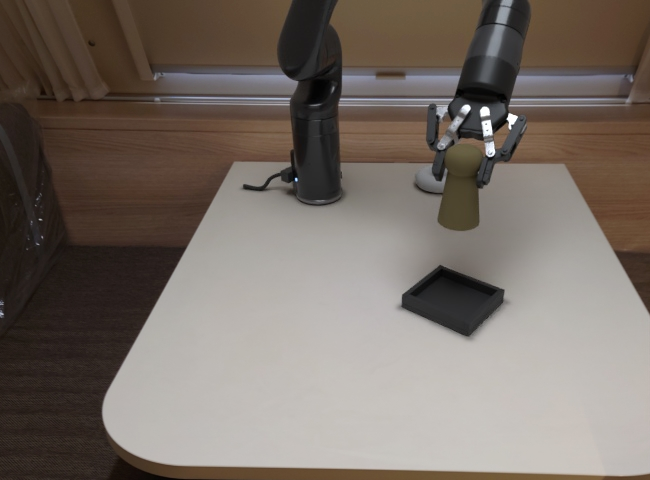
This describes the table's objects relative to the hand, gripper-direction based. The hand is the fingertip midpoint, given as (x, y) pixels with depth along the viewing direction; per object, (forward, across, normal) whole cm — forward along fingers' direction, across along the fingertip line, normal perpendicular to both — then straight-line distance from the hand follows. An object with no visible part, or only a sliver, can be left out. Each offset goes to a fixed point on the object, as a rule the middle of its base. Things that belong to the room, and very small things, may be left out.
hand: (458, 182), depth 77 cm
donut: (-14, -15, +42) cm, 47 cm away
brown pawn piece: (+4, 0, +6) cm, 7 cm away
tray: (+14, +1, +14) cm, 20 cm away
